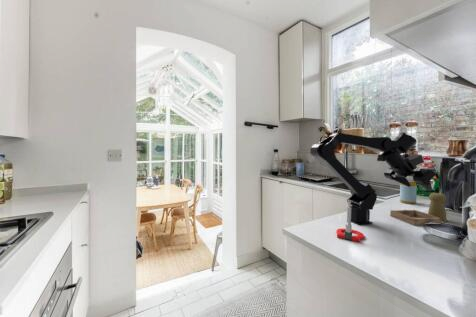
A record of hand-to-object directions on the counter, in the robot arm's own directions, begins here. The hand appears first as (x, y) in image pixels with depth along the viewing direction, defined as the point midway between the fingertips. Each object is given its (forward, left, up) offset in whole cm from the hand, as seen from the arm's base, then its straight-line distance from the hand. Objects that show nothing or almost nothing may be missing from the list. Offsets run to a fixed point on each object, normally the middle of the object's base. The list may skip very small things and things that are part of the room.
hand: (419, 188), depth 86 cm
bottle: (+24, +22, -14) cm, 36 cm away
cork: (+8, -1, -14) cm, 16 cm away
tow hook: (-40, -6, -14) cm, 42 cm away
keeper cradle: (-2, 0, -13) cm, 14 cm away
